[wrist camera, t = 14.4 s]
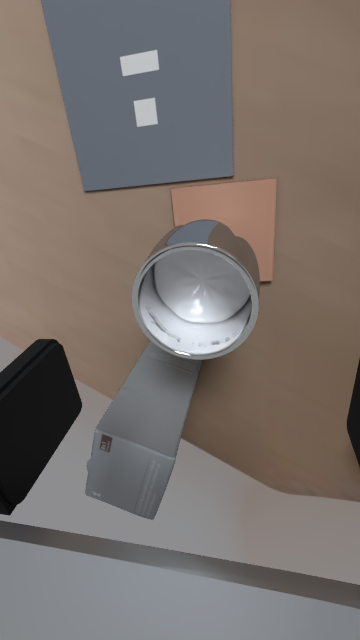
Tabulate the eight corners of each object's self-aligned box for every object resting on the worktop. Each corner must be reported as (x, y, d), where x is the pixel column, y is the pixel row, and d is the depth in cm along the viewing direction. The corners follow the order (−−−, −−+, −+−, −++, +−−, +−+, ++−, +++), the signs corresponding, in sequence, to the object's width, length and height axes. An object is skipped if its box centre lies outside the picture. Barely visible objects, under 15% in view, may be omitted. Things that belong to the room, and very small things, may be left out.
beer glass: (176, 268, 31) (126, 351, 18) (182, 193, 27) (127, 228, 14) (246, 278, 30) (248, 373, 17) (261, 203, 26) (279, 249, 13)
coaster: (275, 178, 26) (276, 178, 25) (272, 278, 30) (272, 280, 29) (172, 188, 28) (170, 188, 27) (182, 281, 32) (181, 283, 31)
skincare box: (190, 397, 39) (161, 527, 25) (136, 380, 39) (80, 501, 26) (208, 344, 35) (185, 467, 21) (148, 326, 35) (88, 435, 21)
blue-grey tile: (228, -60, 20) (228, -62, 20) (233, 175, 26) (233, 175, 26) (39, -11, 23) (37, -12, 23) (85, 191, 29) (84, 191, 29)
